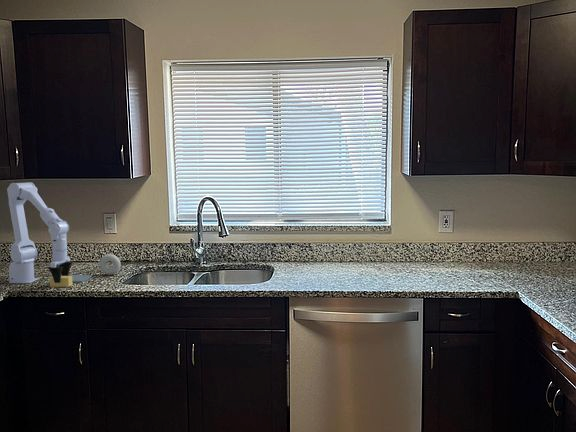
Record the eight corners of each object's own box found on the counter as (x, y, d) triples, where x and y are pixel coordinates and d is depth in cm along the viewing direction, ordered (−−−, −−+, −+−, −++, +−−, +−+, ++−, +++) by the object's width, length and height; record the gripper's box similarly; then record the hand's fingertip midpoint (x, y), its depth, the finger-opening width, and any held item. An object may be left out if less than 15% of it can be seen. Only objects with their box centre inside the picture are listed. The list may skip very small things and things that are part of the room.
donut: (98, 275, 240) (97, 254, 239) (100, 274, 244) (100, 253, 243) (119, 275, 241) (119, 254, 240) (122, 274, 244) (121, 253, 243)
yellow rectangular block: (50, 287, 219) (49, 277, 219) (54, 284, 223) (53, 275, 223) (68, 287, 219) (68, 278, 219) (72, 284, 223) (72, 275, 223)
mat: (50, 282, 226) (50, 280, 226) (62, 276, 238) (62, 274, 238) (82, 282, 226) (82, 281, 226) (92, 276, 238) (92, 275, 238)
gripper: (61, 252, 212) (63, 284, 214) (76, 246, 227) (77, 276, 228) (44, 252, 212) (46, 284, 214) (60, 246, 227) (61, 276, 228)
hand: (61, 280), depth 221 cm, fingers open, 7 cm apart
